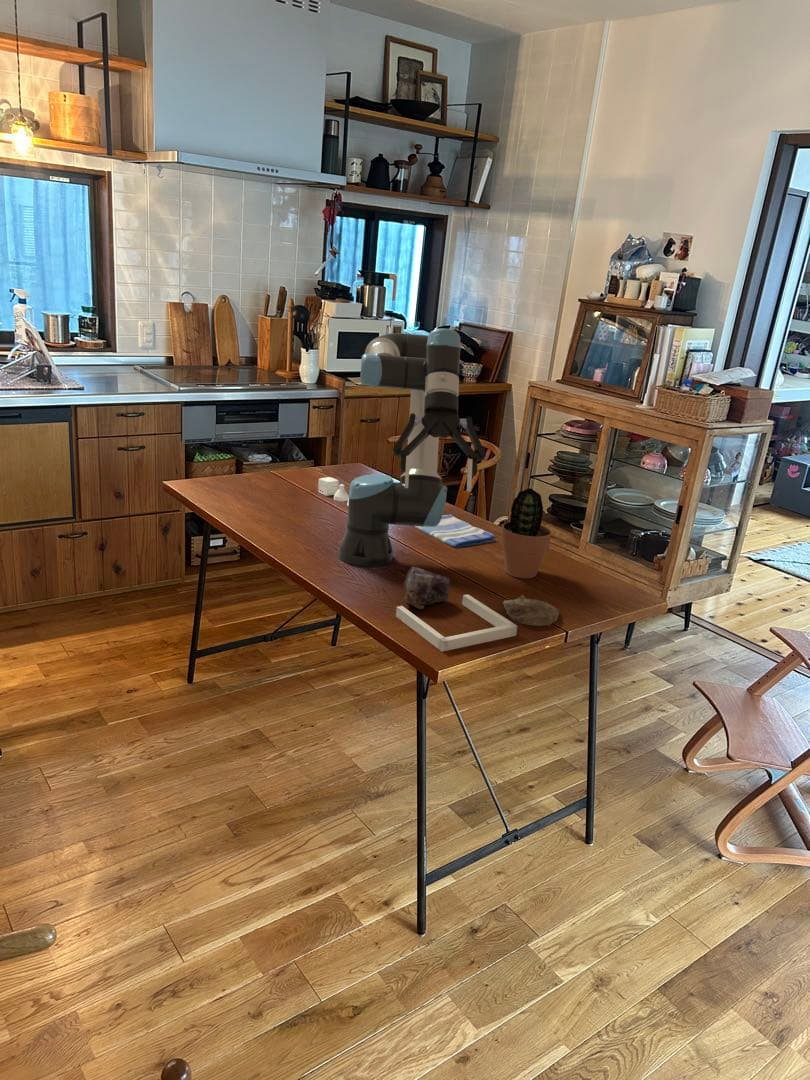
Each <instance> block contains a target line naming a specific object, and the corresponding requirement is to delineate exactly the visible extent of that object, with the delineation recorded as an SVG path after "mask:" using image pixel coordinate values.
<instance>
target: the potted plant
mask: <svg viewBox="0 0 810 1080" xmlns="http://www.w3.org/2000/svg"><path fill="white" fill-rule="evenodd" d="M543 515H544V505H543V501H542V496H541V494H540V493H539V492H538V491H536V490H534V489H532V488H531V487H530V488H527V489H523V490H522V491H519V492H518V493H517V496H516V497H514V499H513V502H512V506H511V509H510V519H509V520H510V521H507V522H504V523H503V524H502V525H501V535H500V536H501V537H500V543H501V545H502V547H503V561H504V572H505V573H506V574H507V575H509V576H511V577H515V578H519V579H532V578H534V577H536V576H537V574H538V571H539V569H540V566H541V563H542V560H543V559H544V556H545V552H546V551H548V549H549V548H550V543H551V538H552V537H551V536H552V533H553V531H552V530H551V529H550V528H549V527H548V526H546V525H543V524H542V519H543Z"/></svg>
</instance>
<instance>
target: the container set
mask: <svg viewBox="0 0 810 1080" xmlns="http://www.w3.org/2000/svg"><path fill="white" fill-rule="evenodd" d="M317 488H318V489H319V490H318V489H317V492H318V493H319V494H321V495H323V496H328V497H329V496H333V500H334V501H336V502H346V503H347V504H346V506H349V498H348V495H349V493H347V492H346V489H345V484H342V483H341V484H340V483H339V479H336V478H333V477H332V476H327V477H321V478H319V479H318V484H317ZM320 490H321V491H320ZM322 491H323V492H322Z"/></svg>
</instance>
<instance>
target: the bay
mask: <svg viewBox="0 0 810 1080" xmlns="http://www.w3.org/2000/svg"><path fill="white" fill-rule="evenodd" d="M461 605H462V606H464V607H465V608H467V609H468V610H470V611H471V612H472V613H473V614H474V613H475V614H476V615H477V616H479V617H480V618H482V619H483V620H485V621H486V622H488V623H489V624H491V625H492V626H493V627H489V628H484V629H479V630H475V631H474V630H473V631H470V632H469V631H468V632H466V633H465V632H464V633H461V634H456V635H455V634H454V635H450V636H443V634H441V633H439V632H438V631H437V630H436V629H434V628H433V627H432V626H430V625H429V624H428V623H426V622H425V621H423V620H422V619H420V617H418V616H416V615H415V614H414V613H412V612H411V611H410V610H408V609H407V608H406V607H404V606H403V605H399V606H396V610H395V617H396V618H397V619H399V620H400V621H402V622H403V623H404V624H405V625H406V626H408V627H409V628H410V629H412V630H413V631H414V632H415V633H417V634H418V635H419V636H421V637H422V638H423V639H424V640H426V641H427V642H429V643H430V644H431V645H433V647H435V648H436V649H438V650H439V651H440V652H442V653H443V652H447V651H450V650H456V649H461V648H466V647H469V646H474V645H479V644H485V643H488V642H494V641H498V640H503V639H507V638H511V637H515V636H517V632H518V625H517V624H515V623H513V622H512V621H510V620H509V619H507V618H506V617H504V616H503V615H501V614H499V613H498V612H496V611H495V610H493V609H491V608H490V607H488V606H487V605H485V604H484V603H483V602H481V601H479V600H478V599H476V598H475V597H473V596H471V595H470V594H464V595H462V602H461Z"/></svg>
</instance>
